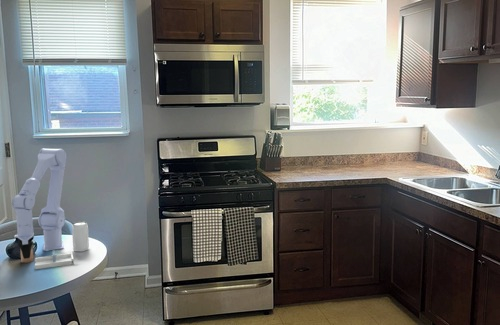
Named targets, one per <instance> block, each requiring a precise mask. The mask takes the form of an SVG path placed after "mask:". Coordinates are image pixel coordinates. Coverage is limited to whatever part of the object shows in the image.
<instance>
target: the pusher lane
mask: <svg viewBox="0 0 500 325" xmlns="http://www.w3.org/2000/svg"><path fill="white" fill-rule="evenodd" d="M55 256H56V262H53V254H52V255H45V256H38V257H34V262H35V264H34V270H41V269H46V268H47V269H49V268H54V267H55V268H56V267H61V266H69V265H74V255H73V251H70V252H68V253H60V254H55Z"/></svg>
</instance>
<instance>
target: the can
mask: <svg viewBox="0 0 500 325" xmlns="http://www.w3.org/2000/svg"><path fill="white" fill-rule="evenodd" d="M88 226H89V225H88V223H87V221H75V222H73V223H72V227H71V230H72V231H71V232H72V234H71V235H72V249H73V251H74V252H76V253H83V252H86V251H88V250H90V249H89V248H90V243H89V242H90V240H89V227H88ZM82 251H83V252H82Z"/></svg>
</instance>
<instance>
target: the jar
mask: <svg viewBox="0 0 500 325" xmlns="http://www.w3.org/2000/svg"><path fill="white" fill-rule="evenodd" d="M33 245H34V244H33ZM33 245H32V247H31V253H30V258H26V259H24V257H23V254H22V251H21V249H20V248H19V249H20V260H21V261H20V263H23V264H24V263H25V264H26V263H31V262H33V261H34V249H33V248H34V246H33Z"/></svg>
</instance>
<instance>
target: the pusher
mask: <svg viewBox="0 0 500 325" xmlns="http://www.w3.org/2000/svg"><path fill="white" fill-rule="evenodd" d="M51 251H52V255H53V262H56V256H55V255H56V249H55V250H51Z"/></svg>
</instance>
